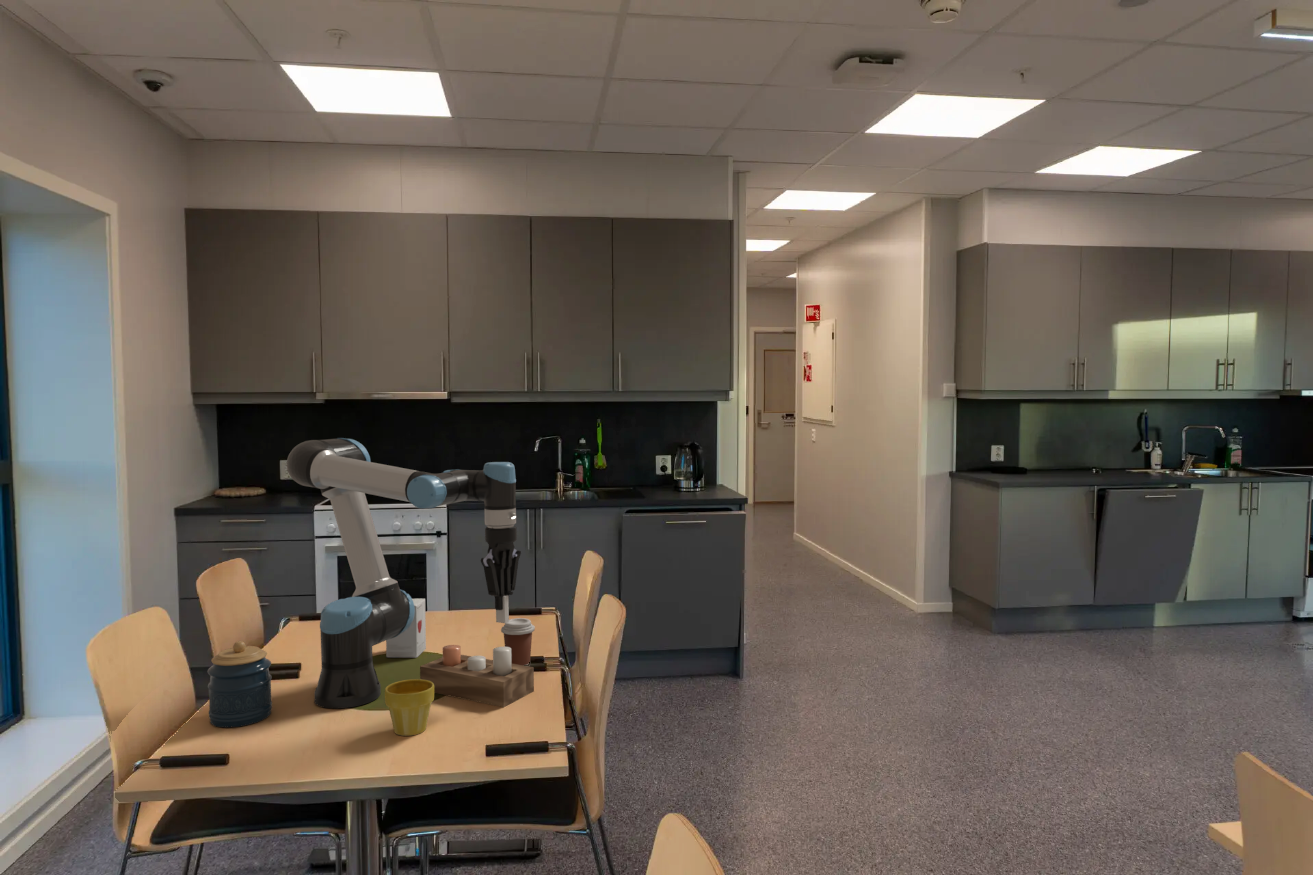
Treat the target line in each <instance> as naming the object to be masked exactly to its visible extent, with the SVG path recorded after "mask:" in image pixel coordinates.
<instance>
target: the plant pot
mask: <svg viewBox="0 0 1313 875" xmlns="http://www.w3.org/2000/svg"><path fill="white" fill-rule="evenodd" d="M434 699H435V693H434V684H433V683H432V682H431V681H428V680H423V679H420V678H415V679H414V678H411V679H404V680H399V681H395V682H392V683H390V684H387V686H386V687H385V688H384V703H385V706H386V707H388V710H389V715H390V718H391V719H390V720H391V723H392V728H393V731H394V733H395V735H398V736H403V737H410V736H411V737H412V736H416V735H419V734H421V733H423V732H425V730H426V729H427V724H428V718H429V714H430V710H431V704H432V703H433V701H434Z"/></svg>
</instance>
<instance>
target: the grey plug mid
mask: <svg viewBox="0 0 1313 875" xmlns="http://www.w3.org/2000/svg"><path fill="white" fill-rule="evenodd" d="M486 659H487V658H486V656H484V655H472V657H469V658H468V670H472V671H481V670H483V669H485V668H486Z"/></svg>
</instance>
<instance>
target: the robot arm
mask: <svg viewBox="0 0 1313 875" xmlns="http://www.w3.org/2000/svg"><path fill="white" fill-rule="evenodd" d="M289 452H290V453H289V454H288V456H287V460H286V469H287V472H288V475H289V476H290V478H291V479H292V480H293V481H294V482H296V483H297V484H299V485H300V486H304V487H310V488H315V489H320V492H321V495H322V496H323V497H325V498H326V499H328V500H329V501H330V505H331V508H332V509H333V514H334V517H335V521H336V524H337V528H338V530H339V536H340V538H341V541H342V545H343V548H344V551H345V554H346V557H347V561H348V564H349V567H350V571H351V575H352V578H353V582H354V585H355V590H354V592H353V593H352V595H351V596H349V597H346V598H340V599H337V600H334V601H332V602H329V603H328V604H326V605H325V606H324V607H323V608H322V610H321V612H320V621H319V629H320V631H319V632H320V649H321V650H320V651H321V652H320V655H321V656H320V657H321V660H320V661H321V671H320V674H319V677H318V682H317V685H316V688H315V689H314V693H313V694H314V698H313V699H314V704H315V705H316V706H318V707H320V708H325V709H347V708H355V707H358V706H363V705H366V704H369V703H372V702H373V701H375V700H377V699H378V698H379V697H380V696H381V694H382V693H381V683H380V680H379V678H378V675H377V671H376V669H375V666H374V662H373V647H374V646H376V645H379V644H381V643H383V642H386V640H388V639H391V638H394V637H397V636H398V635H400V634H401V633H403V632H404V631H406V630H407V629H408V628H409V627H410V625H411V623H412V621H413V619H414V614H415V608H414V603H413V600H412V599H413V598H412V596H411V595H410V594H409V593H407V592H406V591H405V590H403V589H400V585H399V583H398V581H397V580H396V579H395V578H392V577H391V576H390V574H389V571H388V566H387V563H386V560H385V557H384V554H383V553H384V552H383V551H382V547H381V544H380V540H379V537H378V534H377V530H376V526H375V524H374V521H373V516H372V513H371V510H370V506H369V503H368V500H367V496H366V494H368V495H373V496H378V497H383V498H387V499H393V500H399V501H404V502H409V503H410V504H412V505H413V506H414V507H415V508H417V509H434V508H437V507H441V506H445V505H450V504H455V503H460V502H464V501H465V502H467V501H472V502H473V501H474V502H475V501H476V502H477V501H478V502H484V525H485V526H486V527H485V528H484V539H485V540H484V541H485V543H487V544H488V549H487V555H486V556H485V557H481V559H480V563H481V565H482V567H483V572H484V577H485V582H486V587H487V588H486V589H487V592H488V595H489V596H492V597H494V609H495V622H496V623H498V624H499V623H500V624H505V623H507V622H509V620H510V615H509V610H510V609H509V607H510V596H512V595H513V594H514V592H513V591H515V590H516V584H517V575H518V566H519V560H520V557H521V554H522V552H521V550H518V549H515V544H514V543H515V542H517V538H518V537H517V536H518V535H517V532H518V531H517V527H516V525H515V524H517V503H516V500H517V499H516V496H517V494H516V491H517V490H516V489H517V488H516V487H517V486H516V482H517V479H516V478H517V477H516V469H515V465H514V464H513V463H512V462H509V461H492V462H491V461H490V462H486V463H484V465H483V469H482V470H475V469H473V470H472V469H471V470H469V469H459V468H457V469H447V470H444V471H443V472H441V473H431V472H425V471H419V470H416V469H415V470H414V469H409V468H403V467H399V466H394V465H389V464H388V465H387V464H383V463H377V462H372V461H371V456H370V454H369V452H368V450H367V448H366V447H365V446H364V445H363V444H362V443H360V441H357V440H355V439H353V438H346V437H345V438H344V437H337V438H328V439H311V440H305V441H303V442H300V443H299V444H297V445H296V446H294V447H293V448H292V450H290V451H289Z"/></svg>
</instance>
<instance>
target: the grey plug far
mask: <svg viewBox="0 0 1313 875" xmlns="http://www.w3.org/2000/svg"><path fill="white" fill-rule="evenodd" d="M492 660H493V674H494V675H499V676H506V675H508V674H511V673H512V665H511V648H510V647H505V646H498V647H495V648H493V649H492Z"/></svg>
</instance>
